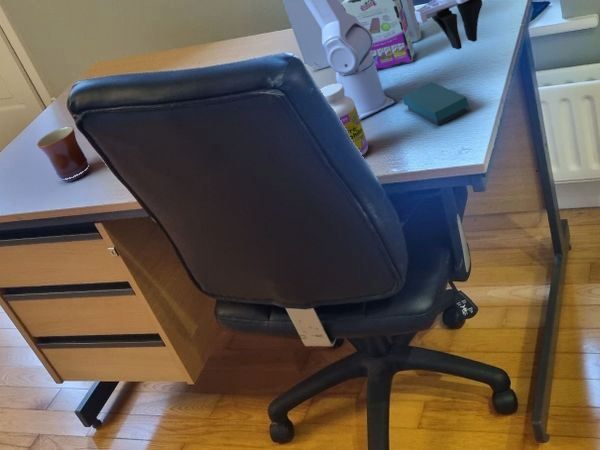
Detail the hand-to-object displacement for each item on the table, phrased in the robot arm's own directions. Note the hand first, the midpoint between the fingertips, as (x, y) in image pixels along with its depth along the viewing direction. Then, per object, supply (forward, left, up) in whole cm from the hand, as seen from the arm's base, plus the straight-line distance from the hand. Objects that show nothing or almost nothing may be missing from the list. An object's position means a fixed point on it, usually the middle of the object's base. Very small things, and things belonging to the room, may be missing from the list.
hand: (464, 44), depth 138 cm
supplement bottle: (0, -27, -10) cm, 28 cm away
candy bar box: (-31, -3, -10) cm, 33 cm away
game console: (-44, -3, -10) cm, 45 cm away
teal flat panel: (0, -9, -9) cm, 13 cm away
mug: (-55, -75, -10) cm, 93 cm away
